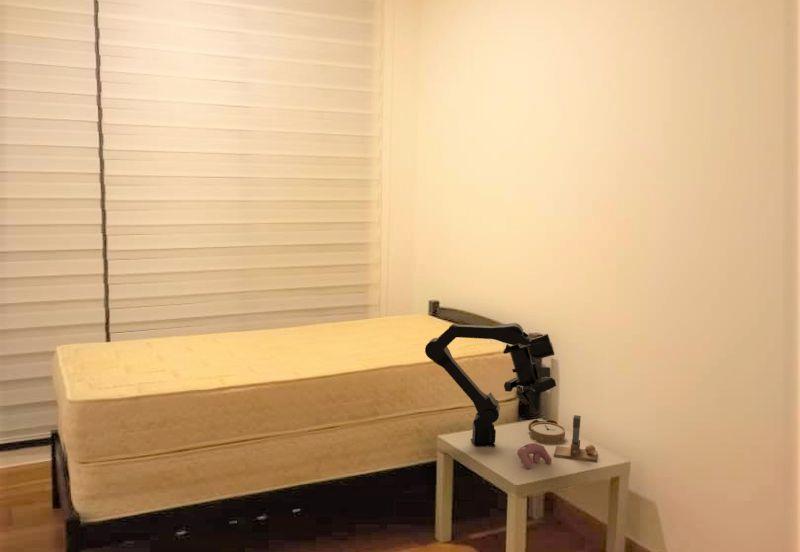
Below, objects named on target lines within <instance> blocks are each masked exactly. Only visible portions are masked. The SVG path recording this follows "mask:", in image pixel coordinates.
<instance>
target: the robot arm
mask: <svg viewBox="0 0 800 552" xmlns="http://www.w3.org/2000/svg"><path fill="white" fill-rule="evenodd" d="M457 338H464V339H480V340H481V339H482V340H483V339H485V340H495V341H498V342H501V343H504V344H506V345H505V347H504V349H503V354H504V355H506V354H508V353H509V354H510V357H511V361H512V364H513V367H514V368H512V369H511V371H512V373H516V377H514V378H511V379H509V380H507V381H505V382H504V384H503V388H504V391H505V392H508V393H509V392H512V391H513V389H515V388H517V390H518V391H517V392H516V394H517V395H519V396H520V397H521V398H522V399H523V400H524V401H525V402H526V403H527V404H528V405H529V407H531V409H532V410H533V411H534V412H539V411H540V399H541V398H540V396H541V393H544V392H546V391H549V390H551V389H553V388H554V387H556V386H557V384H556V379H555V378H553V377H551V367H546V366H545V367H543V366H542V367H541V366H538V364H537V363H535V362H533V361H532V358H534V359H535V358H536V360H540V359H544V358H549V357H552V356H555V351H554V350H555V349H554V346H553V343H552V342H551V339H550V336H549V334H548V333H545V334H542V335H540V336H537V337H532V336H531V335H529V334H528V333H526V332H525V331H524V329H523V327H522V326H521V325H520V324H519V323H517V322H510V323H503V324H499V325H479V324H476V325H475V324H459V323H452V324H450V326H449V327H448V328H447V329H446V330H445V331H444V332H443V333H441V335H439V336H438V337H434V338H432V339H430V340H429V342H428V343H427V344H426V345H425V348H424V351H425V352H424V353H425V355H426V357H428V358H429V359H430V360H431V361H432V362H433V363H434V364H436V365H437V366H439V367H441V368H443V370H444V371H445V372H446V373H447V374H448V375H449V376H450V377H451V378H452V379H453V381H455V384H457V386H459V387H460V388H461V391H463V392H464V393H465V395H466V396H467V397H468V398H469V399H470V400H471V401H472V403H473V405H474V407H475V410H476V411H477V412H476V413H475V416H474V419H473V422H472V438H470V441H471V443H472V444H473V446H474V447H495V446H496V444H495V443H496V435H497V430H496V428H495V425H494V423H495V422H497V420H498V419H499V417H500V413H501V406H500V404H499V402H500V400H497V399H496V397H494V395H493V394H492V392H489V393H488V394H486V393H485V392H484V391H482V390H481V389H480V388H479V386H478V385H477V384H476V383H475V382H474V381H473V380H472V379H471V377H470V376H469V375H468V374H467V373H466V372H465V371H464V369H463V368H462V367H461V366H460V365H459V364H458V362H456V361H457V360H455V359H454V357H453V356H452V355H453V354H452V353H451V351H450V349H449V347H448V346H449V345H450V344H451V343H452V342H453V341H454V340H455V339H457ZM529 350H530V351H529ZM531 356H532V357H531Z"/></svg>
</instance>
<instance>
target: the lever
mask: <svg viewBox="0 0 800 552" xmlns="http://www.w3.org/2000/svg"><path fill="white" fill-rule="evenodd" d="M581 417H582V416H581V415H576V414H575V415H573V420H572V429H573V430H572V439H573V440H572V439H571V444H577V445H579V440H580V433H581V432H580V428H581V420H582V419H581Z"/></svg>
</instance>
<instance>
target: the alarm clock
mask: <svg viewBox="0 0 800 552" xmlns="http://www.w3.org/2000/svg"><path fill="white" fill-rule="evenodd" d="M528 431H529V433H530V434H529V436H530V438H531V439H532V440H533V439H534V440H533V441H535V440H536V441H535V442H538V441H539V443H542V442H543V443H544V444H559V442H560V443H563V442H564V441H565V440H564V439H565V438H566V429H565V428H564V426H563V425H560V424H559V423H558V422H557V421H556V420H555V419H548V420H538V419H532V420H530V422H529V423H528ZM562 441H563V442H562ZM543 443H542V444H543Z"/></svg>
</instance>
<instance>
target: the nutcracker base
mask: <svg viewBox="0 0 800 552" xmlns="http://www.w3.org/2000/svg"><path fill="white" fill-rule="evenodd" d="M572 440H573V438H572V439H571V441H572ZM580 447H581V439H579V445H577V444H572V443H571V444H570V447H568V446H562V445H561V446H559V445H556V446H555V449H554V453H553V457H554V458H559V459H570V460H578V461H583V462H585V461H586V462H594V463H596V462H597V459H598V458H597V457H598V450H596V447H595V446H594V445H593V444H587V445H586V446H585V447H584V448H585V449H584V448H580Z"/></svg>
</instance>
